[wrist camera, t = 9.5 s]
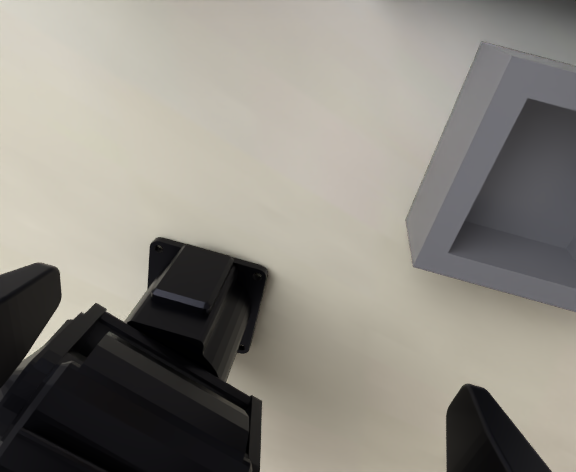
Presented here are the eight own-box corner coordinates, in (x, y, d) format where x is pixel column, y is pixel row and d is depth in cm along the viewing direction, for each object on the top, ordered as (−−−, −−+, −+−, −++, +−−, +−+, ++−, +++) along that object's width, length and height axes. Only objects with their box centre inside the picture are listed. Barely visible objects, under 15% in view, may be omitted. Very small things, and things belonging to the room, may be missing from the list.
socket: (569, 265, 20) (610, 321, 17) (405, 219, 20) (412, 266, 17) (690, 95, 16) (778, 126, 12) (481, 41, 16) (511, 56, 13)
